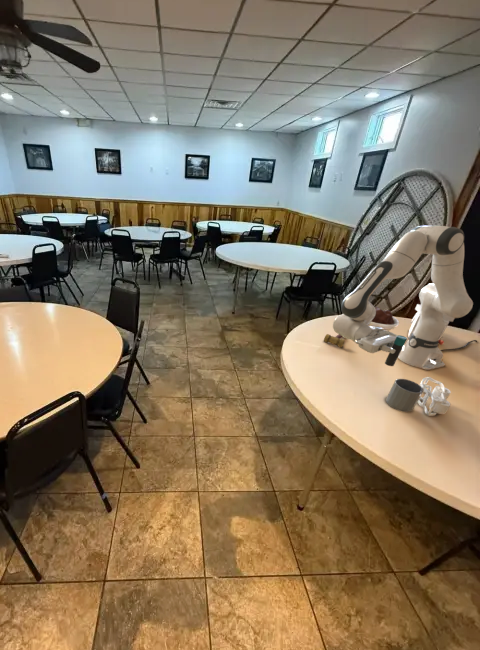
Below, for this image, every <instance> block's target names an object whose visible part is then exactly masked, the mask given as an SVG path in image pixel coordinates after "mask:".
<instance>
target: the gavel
mask: <svg viewBox="0 0 480 650" xmlns="http://www.w3.org/2000/svg"><path fill="white" fill-rule="evenodd" d="M323 342H325V343H329V344H332V345H335V346H337V347H338V348H343V347H344V345H345V342H346V339H345V338H344V337H343V336H341V335H339V334H337V335H335V336H333V335H331V334H329V333H326V334H325V335H324V338H323Z"/></svg>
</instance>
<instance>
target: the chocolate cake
mask: <svg viewBox="0 0 480 650" xmlns="http://www.w3.org/2000/svg"><path fill="white" fill-rule="evenodd" d="M374 307H375V309H376V315H375V317H374V319H373V320H372V321H371V322H370V323H369V324H368V326H372V327H382V328H384V330H386V331H389V332H391V331H392V330H394V329H396V328H397V327H398V326H399V325H400V321H399V319H398V318H397V317H395V316H393V314H392V312H391V310H383V309H381V308H379V307H378V306H374Z"/></svg>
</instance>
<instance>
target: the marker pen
mask: <svg viewBox="0 0 480 650" xmlns="http://www.w3.org/2000/svg"><path fill="white" fill-rule="evenodd" d="M407 341H408V337H406V336H404V335H400V334H399V335H397V337H396V339H395V341H394V344H393V346H392V347H391V348H394V349H396V353H393V354H392V353H390V352H388V355H387V357H386V360H385V361H384V364H385V365H386V366H387V367H388V366H389V367H395V365H396V362H397V360H398V359H399V358H398V356H399V354H400V352H401V350H402V348H403V346H404V345H405V344H406V342H407Z"/></svg>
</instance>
